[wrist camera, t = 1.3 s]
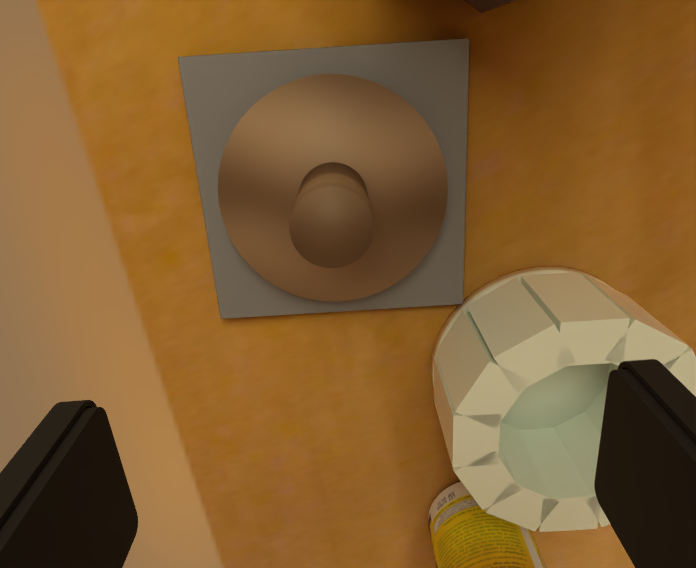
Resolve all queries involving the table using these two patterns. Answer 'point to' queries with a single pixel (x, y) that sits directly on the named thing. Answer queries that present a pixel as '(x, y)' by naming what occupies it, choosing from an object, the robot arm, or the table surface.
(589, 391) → the bowl
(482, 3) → the box
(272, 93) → the lid
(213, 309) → the table surface
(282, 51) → the mat
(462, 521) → the supplement bottle
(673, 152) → the table surface
